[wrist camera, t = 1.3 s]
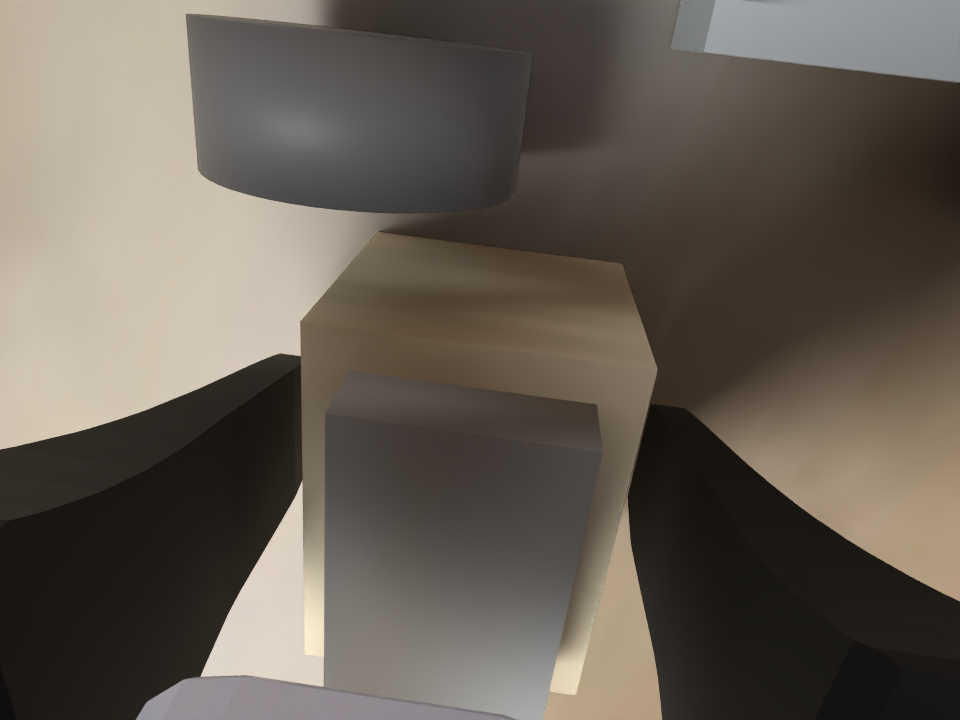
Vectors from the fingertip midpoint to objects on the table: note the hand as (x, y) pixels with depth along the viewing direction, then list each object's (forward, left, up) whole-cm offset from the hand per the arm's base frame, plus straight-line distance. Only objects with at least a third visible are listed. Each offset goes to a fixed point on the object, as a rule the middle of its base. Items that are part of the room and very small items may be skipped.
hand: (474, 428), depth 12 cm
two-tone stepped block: (0, 0, -2) cm, 2 cm away
